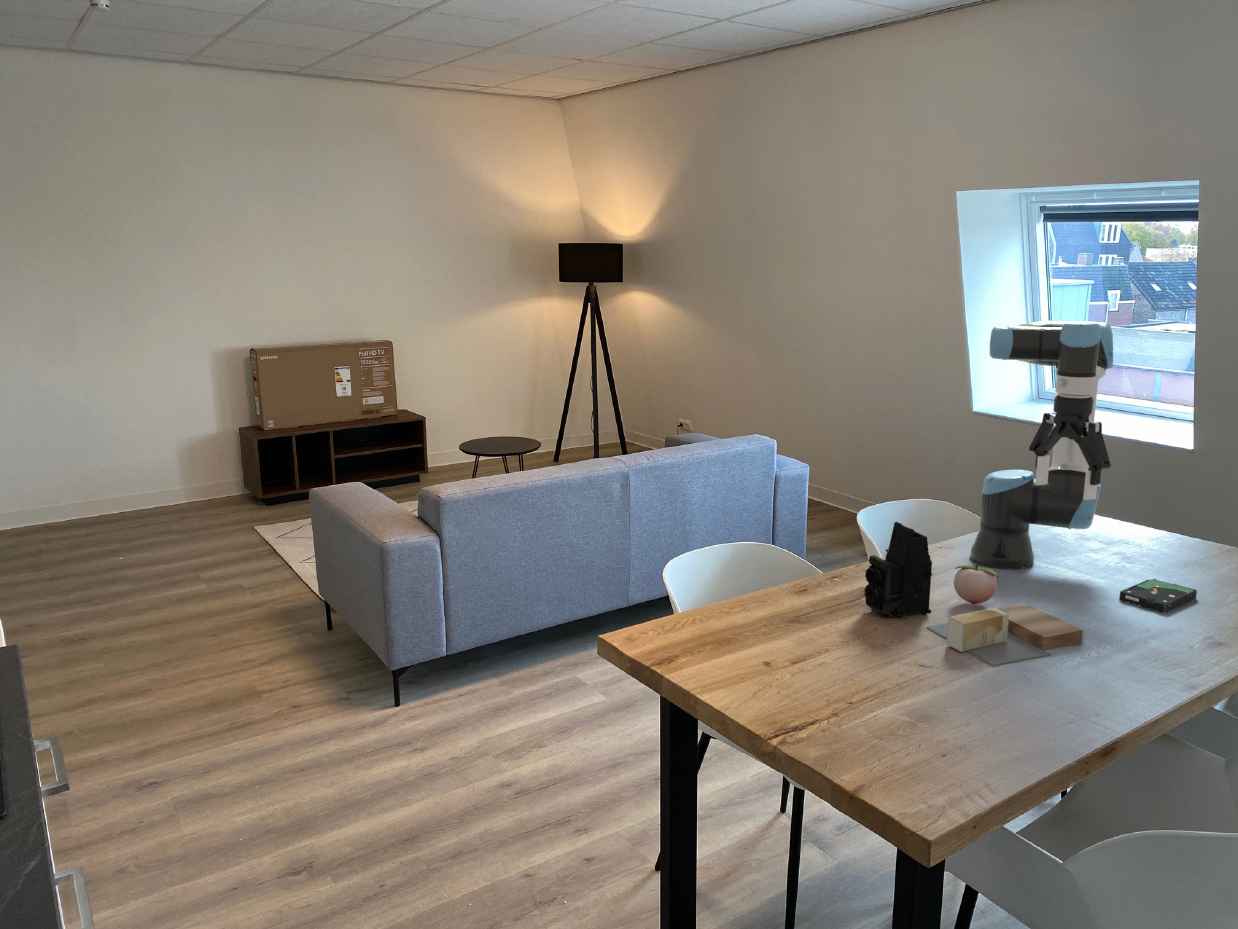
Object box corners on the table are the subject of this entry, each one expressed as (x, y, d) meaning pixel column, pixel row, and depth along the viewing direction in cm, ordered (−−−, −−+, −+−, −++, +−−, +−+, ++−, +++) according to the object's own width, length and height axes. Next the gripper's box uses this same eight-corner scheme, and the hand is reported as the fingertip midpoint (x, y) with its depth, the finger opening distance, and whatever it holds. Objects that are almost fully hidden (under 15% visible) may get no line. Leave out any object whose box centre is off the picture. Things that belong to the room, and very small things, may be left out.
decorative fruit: (950, 608, 209) (953, 566, 206) (952, 596, 216) (955, 555, 214) (995, 614, 205) (999, 571, 203) (996, 601, 212) (999, 560, 210)
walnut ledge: (987, 622, 201) (988, 609, 200) (1024, 615, 204) (1025, 602, 204) (1042, 651, 186) (1044, 637, 186) (1081, 643, 189) (1083, 630, 189)
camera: (855, 608, 210) (859, 522, 205) (907, 600, 214) (912, 516, 209) (881, 624, 200) (886, 535, 196) (934, 616, 205) (940, 528, 200)
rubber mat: (926, 628, 198) (927, 626, 198) (980, 618, 203) (980, 617, 203) (992, 666, 180) (993, 664, 180) (1050, 655, 184) (1050, 653, 184)
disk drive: (1165, 616, 205) (1196, 600, 213) (1167, 604, 204) (1198, 589, 212) (1118, 602, 213) (1149, 587, 221) (1119, 591, 212) (1150, 576, 220)
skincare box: (1007, 642, 190) (961, 654, 185) (991, 634, 194) (945, 646, 189) (1009, 612, 188) (963, 624, 184) (993, 605, 192) (947, 616, 188)
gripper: (1017, 388, 209) (1009, 480, 213) (1108, 405, 186) (1097, 507, 191) (1044, 386, 211) (1035, 477, 216) (1137, 402, 188) (1125, 503, 193)
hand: (1064, 491), depth 203 cm, fingers open, 13 cm apart
